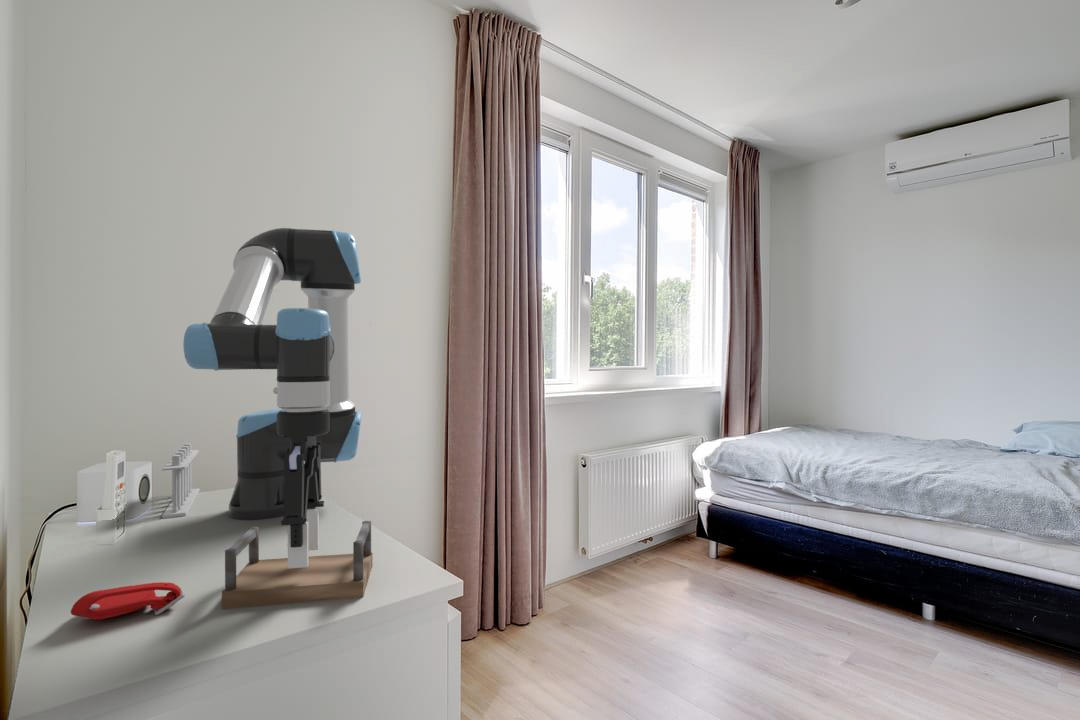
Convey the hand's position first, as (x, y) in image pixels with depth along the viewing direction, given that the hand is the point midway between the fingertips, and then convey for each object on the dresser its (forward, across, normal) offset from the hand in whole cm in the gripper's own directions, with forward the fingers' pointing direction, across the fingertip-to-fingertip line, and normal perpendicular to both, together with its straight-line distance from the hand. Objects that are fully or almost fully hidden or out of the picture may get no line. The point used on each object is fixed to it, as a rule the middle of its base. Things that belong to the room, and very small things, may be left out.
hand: (304, 557), depth 84 cm
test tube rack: (+5, -56, -40) cm, 69 cm away
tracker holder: (+2, 0, -19) cm, 20 cm away
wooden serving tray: (+4, 0, 0) cm, 4 cm away
